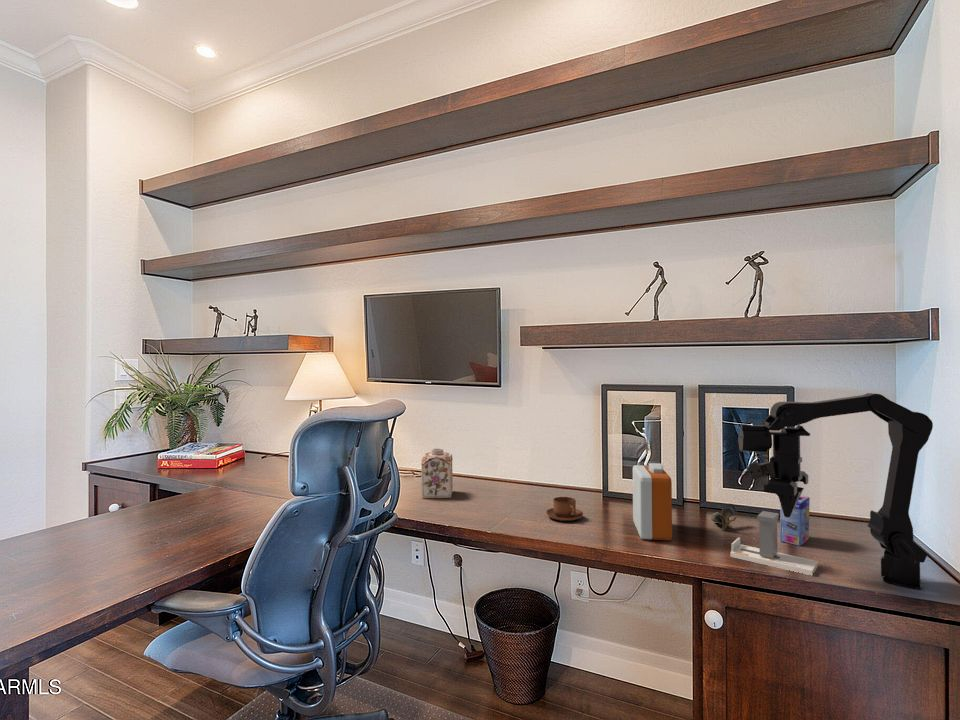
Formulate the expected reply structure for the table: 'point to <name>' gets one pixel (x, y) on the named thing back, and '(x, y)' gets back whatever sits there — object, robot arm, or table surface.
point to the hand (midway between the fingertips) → (787, 516)
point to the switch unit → (778, 561)
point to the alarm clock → (652, 502)
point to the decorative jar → (436, 474)
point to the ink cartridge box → (796, 523)
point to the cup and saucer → (564, 509)
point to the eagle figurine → (724, 516)
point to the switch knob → (768, 534)
